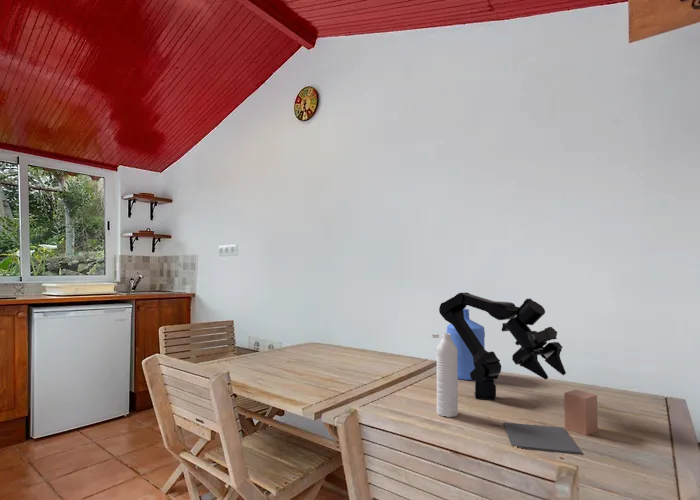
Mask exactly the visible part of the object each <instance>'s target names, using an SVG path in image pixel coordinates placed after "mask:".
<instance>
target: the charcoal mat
mask: <svg viewBox="0 0 700 500" xmlns="http://www.w3.org/2000/svg"><path fill="white" fill-rule="evenodd" d="M503 426H504V429H505V431H506V434H507V436H508V440H509V443H510V445H511V447H512V446H517V447H521V448H520V449H523V448H526V449H525V450H532V451H533V450H535V451H545V452H555V453H565V454H574V455H582V451H581V450H580V448H579V447H578V445H577V444H576V443H575V441H574V440H573V439H572V438H571V436H570V435H569V434H568V433H567V431H566V429H565V427H560V426H549V425H537V424H528V423H527V424H526V423H515V422H506V421H505V422H504V421H503Z"/></svg>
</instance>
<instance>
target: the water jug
mask: <svg viewBox="0 0 700 500" xmlns="http://www.w3.org/2000/svg"><path fill="white" fill-rule="evenodd" d="M463 311H464V319H465V321H466V322H467V324H468V325H469V327H470V328H471V330H472V331H473V333H474V334H475V336H476V337H477V339H478V340H479V342H480V343H481V345H482V346H483V347H484V349H485V347H486V346H485V344H486V343H485V337H486V331H485V327H484V326H483V325H481V324H479V323H478V322H475V321H473V320H472V319H470V309H468V308H465V309H463ZM446 333H448V334H451V339H452V341H453V342H454V344H455V346H456V347H457V351H458V355H457V366H458V367H457V369H458V370H457V371H458V372H457V374H458V380H462V381H464V380H465V381H473V380H472V379H471V376H470V373H471V372H472V371H473V370H474V369H475V366H474V362H473V356H472V354H471V352H470V351H469V349H468V348H467V346H466V345H465V343H464V342H463V340H462V338H461V337H460V335H459V334H458V332H457V331H456V329H455V328H454V326H453V325H452V324H451V323H449V324H447V326H446ZM485 350H486V349H485Z"/></svg>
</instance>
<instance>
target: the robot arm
mask: <svg viewBox="0 0 700 500" xmlns="http://www.w3.org/2000/svg"><path fill="white" fill-rule="evenodd" d="M467 306H468V307H472V308H475V309H477V310H481V311H483V312H486V313H488V314H489V316H491V317H492V318H493V319H496V320H497V321H504V320H508V321H507V322H504V323H502V327H501V331H502V332H510V334H511V335H512V337H513V338H514V339H515V340H516V341H515V342H514V344H515V345H516V346H520V347H519V349H518V350H516V351H515V352H514V353H513V354H512V355H511V356H512V357H511V358H512V359H511V360H512V362H513V363H514V364H515V366H517V365H518V366H519V367H522V368H525V369H527V370H528V371H531V372H532V373H534V374H535V375H537V376H538V377H541V378H542V379H544V380H548V379H549V376H548V374H547V372H546V371H545V370H544V368H543V366H542V365H541V363H540V361H539V359H538V356H541V358H543V359H544V360H543V361H544V362H546V363H547V364H548V365H549V366H551V368H553V369H554V370H556V372H558V373H559V374H561V375H562V376H565V375H566V374H567V372H566V369H565V367H564V365H563V362H562V359H561V352H562V351H563V350H562V349H563V348H564V347H563V346H562V345H561V343H560V342H558V341H552V342H551V340H557V339H558V338H557V335H558V331H557V330H555V328H553V327H552V326H547V327H545V328H544V329H543V330H540V331H536V330H532V329H531V328H530V326H534V325H535V324H536V323H537V322H538V321H540V319H541V318H542V317H543V316H544V315H545V313H546V309H545V308H544V307H543V305H541V304H540V303H538V302H536V301H534V300H533V299H532V298H526V299H525V300H523V303H522V304H521V305H520V306H516V304H515V303H513V302H511V301H495V300H492V299H488V298H483V297H481V296H477V295H475V294H472V293H469V292H457V294H455V296H452V297H451V298H449V299H447V300H445V301H442V302H441V303H440V305H439V310H438V311H439V314H440V315H441V317H442V318H443V319H444V320H445V321H446V322H448V323H449V324H452V325H453V326H454V328H455V329H456V331H457V332H458V334H459V335H460V337H461V338H462V340H463V342H464V343H465V345H466V346H467V348H468V349H469V351H470V352H471V354H472V356H473V362H474V366H475V369H474V370H473V371H472V372H471V373H470V376H471V379H472V380H471V381H474V396H475V397H474V398H475V400H476V399H477V400H478V399H479V400H491V401H495V400H496V397H497V385H496V383H495V380H498V378H499V375H500V374H501V372H502V364H501V360H500V358H498V357H497V355H496V353H495V352H494V351H487V349H484V347H483V346H482V345H481V343H480V342H479V340H478V339H477V337H476V336H475V334H474V333H473V331H472V330H471V328H470V327H469V325H468V324H467V322H466V321H465V319H464V311H463V309H467ZM529 325H530V326H529Z"/></svg>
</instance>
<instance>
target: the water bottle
mask: <svg viewBox="0 0 700 500" xmlns="http://www.w3.org/2000/svg"><path fill="white" fill-rule="evenodd" d="M430 338H433V339H437V338H440V334H439V333H431V334H430ZM435 350H436V351H435V352H436V414H437V415H438V414H439V415H438V416H441V417H443V416H446V418H455V417H457V416H458V415H459V406H458V404H459V403H458V402H459V401H458V397H459V395H458V394H459V393H458V389H459V388H458V383H459V382H458V381H459V379H458V374H457V372H458V371H457V370H458V369H457V367H458V366H457V355H458V351H457V347H456V346H455V344H454V342H453V341H452V339H451V334H448V333H447V332H446V333H443V334H442V339H441V341H440V342H439V343H438V344H437V347H436V349H435Z"/></svg>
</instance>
